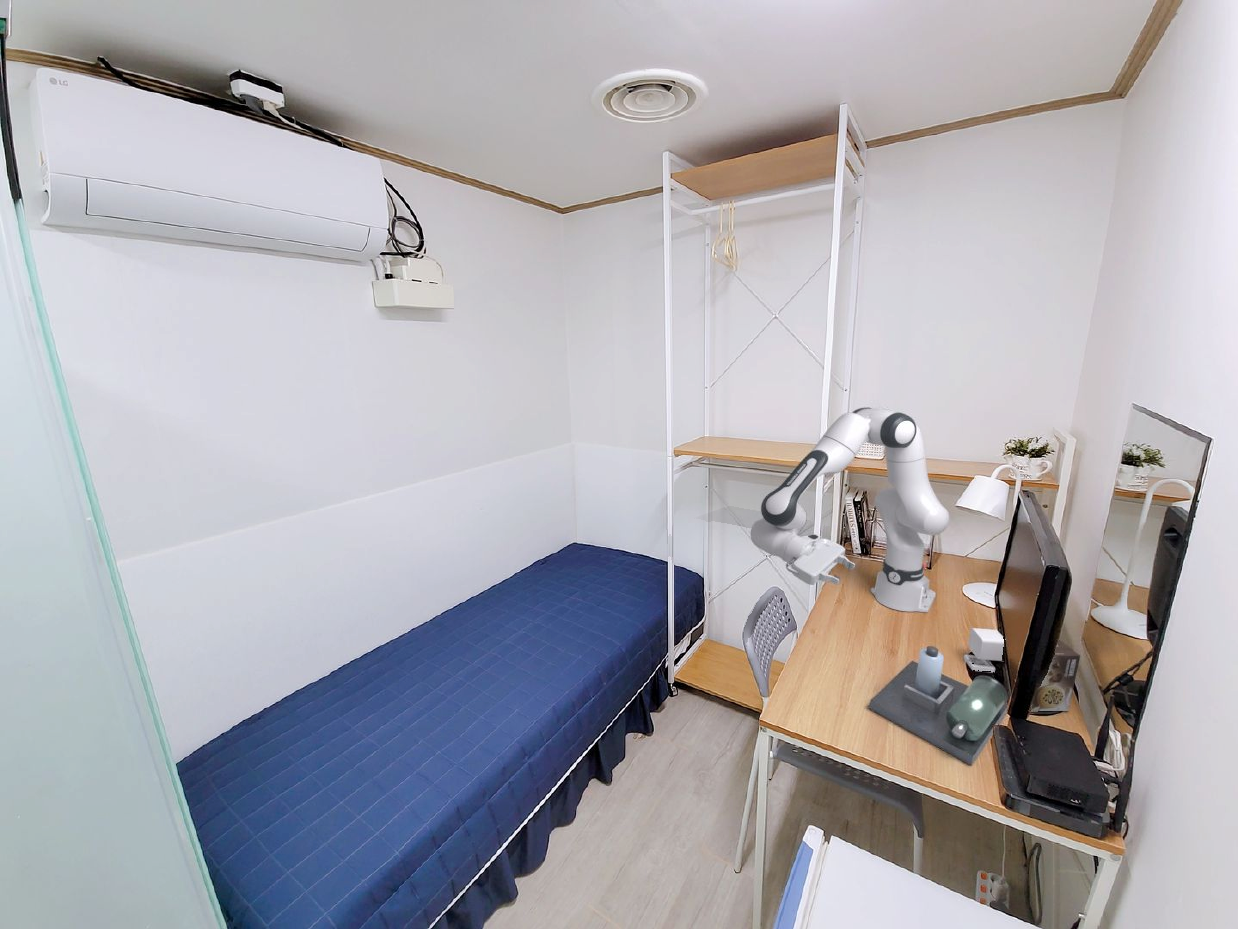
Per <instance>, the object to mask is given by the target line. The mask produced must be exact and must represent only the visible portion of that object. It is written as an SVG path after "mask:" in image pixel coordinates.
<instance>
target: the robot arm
mask: <svg viewBox="0 0 1238 929" xmlns="http://www.w3.org/2000/svg"><path fill="white" fill-rule="evenodd" d="M865 443H868V444H871V445H875V446H876V445H878V446H883V447H885V462H886V472H887V479H888V481H889V483H890V485H891V487H885V488H883V489H881V490H880V491H879V492H878V493H877V495H875V498H874V507H875V509H876V510H877V512H878V513H879V515H880V517H881V520H882V524H883V527H884V531H885V538H886V544H885V546H886V547H885V556H884V559H883V563H882V569H881V570H880V571H878V573H877V576H876V581H875V586H873V587H871V588H870V592H871V593H872V594H873V595H874V597H875V599H876V601H877V602H879V603H880V604H881V605H883V606H885V607H887V608H889V609H893V610H897V611H901V612H909V613H910V612H912V613H913V612H920V613H929V612H930V609H931V607H932V605H933V603H934V601H935V599H936V596H937V593H936V592H935V591H933V590H932V589H931V588H930V582H931V581H930V579H929V578H928V577H927V576H925V575H924V573H925V570H924V569H926V567H927V563H926V562H924V556H925V555H924V554H925V543H924V541H923V540H922V538H921V537H920V535H919V534H923V535H927V536H928V535H929V536H938V535H940V534H942V533H944V531H945V530H946V529H947V528H948V526H949V524H950V520H951V519H950V518H951V517H950V513H949V511H948V510H947V508H946V507H944V506H943V504H942V503H941V502H940V501H939V499H938V497H937V496H936V495H937V494H936V493H935V492H934V489H933V487H932V485H931V482H930V479H929V475H928V474H929V473H928V468H927V467H928V466H927V455H926V447H925V442H924V437H923V434H922V431H921V428H920V427H919V426H918V425H917V424H916V422H915V420H914V419H913V417H911V416H910V415H907V414H906V413H903V412H899V411H897V412H896V411H894V410H890V409H885V408H872V407H859V408H857V409H855V410H853V411H852V412H845V413H842V415H841V416H839V417H838V418H837V419H836V420H835V421H834V422H833V423H832V424H831V425H830V426H829V428H828V429H827V430H826V431H825V432H824V434H823V435H822V436H821V438H820V440H819V441H818V442H817V444H816V445H815V446H814V447H813V448H812V449H811V451H810V452H808V453H807V455H806V456H805V457H803V459H802V460H801V461H800V462H799V463H798V465H796V466H795V468H794V469H793V470H792V472H791V473H790V474H789V475H788V476H787V477H786V479H785V480H784V481H783V482H782V483H781V484H780V485H779V486H778V487H777V488H775V489H773V491H771V492H770V493H768V494H766V496H764V499H763V500H762V502H761V505H760V513H761V515H762V518H761V519H758V520H756V521H754V523H753V524H752V527H751V529H750V540H751V542H752V543H753V545H754V546H756V547H757V548H758V549H760V550H761V551H763V552H764V553H767V554H768V555H771V556H774V557H778V558H780V560H782V561H783V562H785V568H786V570H787V571H788V572H789V573H791V574H792V575H793V576H794V577H796V578H797V579H798V580H800V581H802V582H804V583H805V584H807V585H810V586H814V585H816V583H818V582H819V581H821V582H823V583H824V582H826V583H832V584H834V585H839V583H840V582H841V577H839V576H837V575H836V574H833V575H830V574H828V573H829V572H830V571H831V570H832V569H833V568H834V567H835V566H836V565H838V564H841V565H844V566H845V569H848V570H849V571H852V570H854V568H855V566H856V563H854V562H852V561H850V560H849V559H848V558H847V556H845V555H846V548H845V547H844V546H843V545H842V544H840V543H837V542H835V541H833V540H831V539H828V538H821V535H820V534H818V533H812V534H809V535H802V536H800V535H799V534H800V533H801V531H802V530H803V529H804V527H805V525H806V524H807V520H808V515H807V514H808V513H807V512H806V510H805V508H804V507H803V506H802V505H801V503H799V500H800V498H801V497H802V496H803V495H804V493H805V492H806V491H807V490H808V488H809V487H810V486H811V485H812V483H813V482H814V481H816V479H817V478H819V477H821V476H823V475H834V474H835V475H836V474H839V473H841V472H842V471H843V472H844V470H845V469H846V468H847V467H848V466H849V465H850V464H851V462H852V461H853V460H854V458H856V456H857V454H858V453H859V451H860V450H861V448H862V446H863V445H864V444H865Z"/></svg>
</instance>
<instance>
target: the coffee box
mask: <svg viewBox="0 0 1238 929" xmlns="http://www.w3.org/2000/svg"><path fill="white" fill-rule="evenodd" d="M1057 640H1058V644H1057V646H1056V649H1055V655H1054V657H1053V659H1052V662H1051V665H1050V667H1049V670H1048V673H1047V675H1046V676H1045V678H1044V680H1043V681H1042V684H1041V686H1040V687H1039V688H1038V689H1037V692H1036V696H1035V699H1034V701H1033V704H1032V705H1031V711H1029V712H1031V713H1039V712H1038V711H1066V710H1068V711H1069V710H1070V706H1071V705H1070V704H1071V700H1072V696H1073V695H1072V694H1073V690H1074V687H1075V682H1076V677H1077V674H1078V669H1079V663H1080V658H1081V655H1080V654H1079V653H1078V652H1076V651H1075V650H1074V649H1072V648H1071V647H1070V646H1069V645H1068V644H1066V643H1065V642H1063V641H1062V640H1060V639H1057Z"/></svg>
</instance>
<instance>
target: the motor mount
mask: <svg viewBox="0 0 1238 929" xmlns="http://www.w3.org/2000/svg"><path fill="white" fill-rule="evenodd" d="M917 668H918V662H916V661H914V660H911V661H910V662H909V663H908V664H907V665H905V667H903V669H902V670H900V671H899V672H898V673H897V674H896V675H895V677H893V678H892V679H891V680H890V681H889V682H888V683H887V684H886V685H885V686H884V687H883V688H882V689H881V690H880V691H879V692H878V693H876V694H875V695H874V696H873V698H871V699H870V700H869V709H868V710H870V711H873V713H876V714H878V715H879V716H881V717H883V718H885V719H886V720H888V721H890V722H892V723H894V724H895V725H897V726H899V727H900V728H902V729H904V730H906V731H908V732H910V733H911V734H914V735H915V736H917V737H919V738H921V739H922V740H923V741H926V742H928V743H929V744H931V745H933V746H934V747H936V748H939V749H940V748H941V750H942V749H943V750H942V751H944V752H945V753H947V754H949V755H951V756H952V757H954V758H956V759H958V760H959V761H961V760H962V762H963V761H964V762H963V763H965V764H966V765H969V766H970V767H972V766H973V764H974V763H975V761H976V759H978V757H979V756H980V754H981V753H982V751H983V749H984V748H985V747H986V745H987V744H988V742H989V741H990V739H991V738H990V737H992V736H993V735H994V733H993V726H994V725H996V724H999V725H1001V723H1002V721H1003V719H1004V718H1005V717H1006V715H1007V714H1006V711H1007V704H1008V703H1007V701H1008V698H1009V694H1008V691H1007V689H1006V687H1005V686H1004V685H1003V683H1001V682H1000V681H999V680H997V679H996V678H994V677H992V676H989V675H978V676H976V677H975V678H974V679H973V680H972V681H971V682H970V684H969V685H967V684H966V683H963V682H961V681H958V680H956V679H953V678H952V677H949V676H947V675H945V674H942V673H941V679H940V685H939V691H938V698H937V700H936V699H934V698H932V697H930V696H928V695H926V694H924V693H922V692H920V691H918V690H916V689H914V688H915V681H916V675H917ZM1007 712H1008V711H1007ZM1000 722H1001V723H1000ZM992 734H993V735H992Z"/></svg>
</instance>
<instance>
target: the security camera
mask: <svg viewBox="0 0 1238 929" xmlns="http://www.w3.org/2000/svg"><path fill="white" fill-rule="evenodd" d="M1003 637H1004V636H1003V635H1002V634H1001V633H1000V632H999V631H998V630H997V629H990V628H980V627H979V628H978V627H977V628H975V627H971V628H970V634H969V638H968V645H967V646H968V648H969V649H970V651H971V652H972V653H973V654H974V655H973V654H964V655H963V659H964V661H965V662H966V664H967V665H968V667H969V668H970V669H971V670H972V671H973V670H975V672H982V671H991V672H990V673H993V672H994V673H995V671H996V667H995V666H994V665H993V663H992V662H991V661H997V662H998V661H999V662H1003V661H1002V655H1003V647H1004V639H1003ZM972 663H974V664H972ZM978 670H979V671H978Z"/></svg>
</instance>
